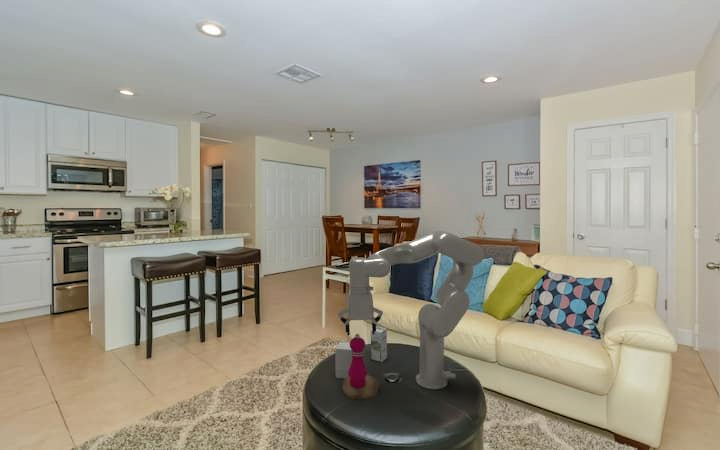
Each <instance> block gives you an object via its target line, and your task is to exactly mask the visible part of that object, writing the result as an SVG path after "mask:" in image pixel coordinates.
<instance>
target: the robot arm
mask: <svg viewBox="0 0 720 450" xmlns="http://www.w3.org/2000/svg"><path fill="white" fill-rule="evenodd" d="M438 254H441V255H444V256H446V257H447V258H450V259H452V267H451V270H450V272H449V273H448V275H447V276H446V278H445V279H444V281H442V283H441V285H440V286H439V287H438V289H437V290H436V293H435V299H436V300H437V302H438V304H440V307H439V306H438V305H436V304H432V303H426V304H423V306H422V307H421V308H420V309H419V311H418V315H417V316H418V321H417V322H418V329H419V373H417V374H416V376H415V382H416V384H417V385H419V386H420V387H421V388H424V389H428V390H441V389H444V388H445V387H447V386H448V380H449V379H451V380H452V379H453V380H454V379H455V380H456V379H457V377H456V375H457V374H456V373H452V372H451V370H447V371H445V369H444V366H445V363H444V362H445V360H444V359H445V358H444V356H445V338H446V337H447V336H449V335H451V333H452V332H453V331H454V329H456V327H457V325H458V324H459V323H460V322H461V320H462V318H463V317H464V316H465V315H466V313H467V311H468V310H469V307H470V303H471V302H470V301H471V300H470V297H469V294H468V293H467V292H466V291H465V290H466V289H467V287H468V286H469V284H470V283H471V280H472V278H473V275H474V267H476V266H478V265H479V264H481V263H482V262H483V260H484V256H485V255H484V254H485V252H484V250H483V248H482V247H481V246H480V245H479V244H476V243H474V242H472V241H469V240H467V239H465V238H462V237H459V236H457V235H455V234H452V233H450V232H447V231H442V230H436V231H432V232H430V233H428V234H425V235H422V236H421V237H418V238H415V239H413V240H411V241H408V242H404V243H401V244H397V245H394V246H393V245H392V246H390V247H386V248H384V249H382V250H379V251H376V252H375V253H371V254H370V255H369V256H368V257H367V258H366V257H353V258H351V259H350V260H349V262H348V268H349V269H348V270H349V272H348V276H349V292H348V293H347V302H346V303H347V304H346V308H344V309H343V310H340V311H339V312H338V313H337V316H338V318H339V319H340V321H341V322H342V323H343V324H344V325H345V333H347V336H350V333H351V332H350V322H351V321H370V322H371V329H372V333H373V334H375V333H374V331H376V326H377V323H378V322H379V321H380V320H381V318H382V317H383V315H384V313H383V312H384V311H383V310H381V309H379V308H377V307H374V301H373V300H374V299H373V294H372V292H371V291H374V286H371V285H370V278H385V277H387V276H388V275H389V274H390V272H391V267H392V266H394V265H398V264H414V263H419V262H421V261H424V260H425V259H428V258H431V257H434V256H436V255H438ZM374 313H376V314H377V316H376V317H374ZM345 314H346V316H347V317H346V318H345V317H344V315H345Z"/></svg>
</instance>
